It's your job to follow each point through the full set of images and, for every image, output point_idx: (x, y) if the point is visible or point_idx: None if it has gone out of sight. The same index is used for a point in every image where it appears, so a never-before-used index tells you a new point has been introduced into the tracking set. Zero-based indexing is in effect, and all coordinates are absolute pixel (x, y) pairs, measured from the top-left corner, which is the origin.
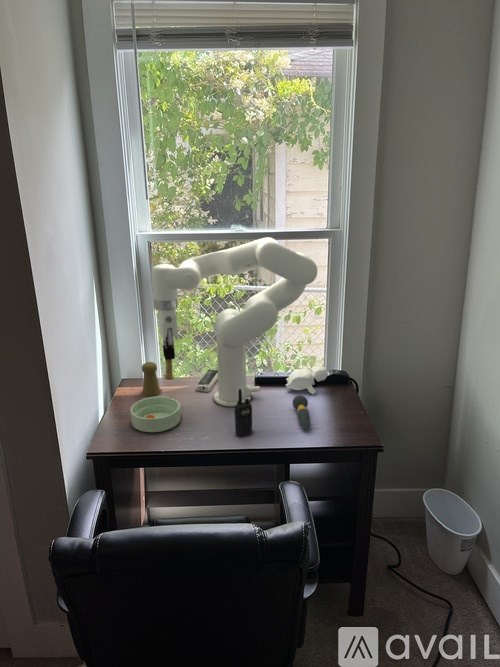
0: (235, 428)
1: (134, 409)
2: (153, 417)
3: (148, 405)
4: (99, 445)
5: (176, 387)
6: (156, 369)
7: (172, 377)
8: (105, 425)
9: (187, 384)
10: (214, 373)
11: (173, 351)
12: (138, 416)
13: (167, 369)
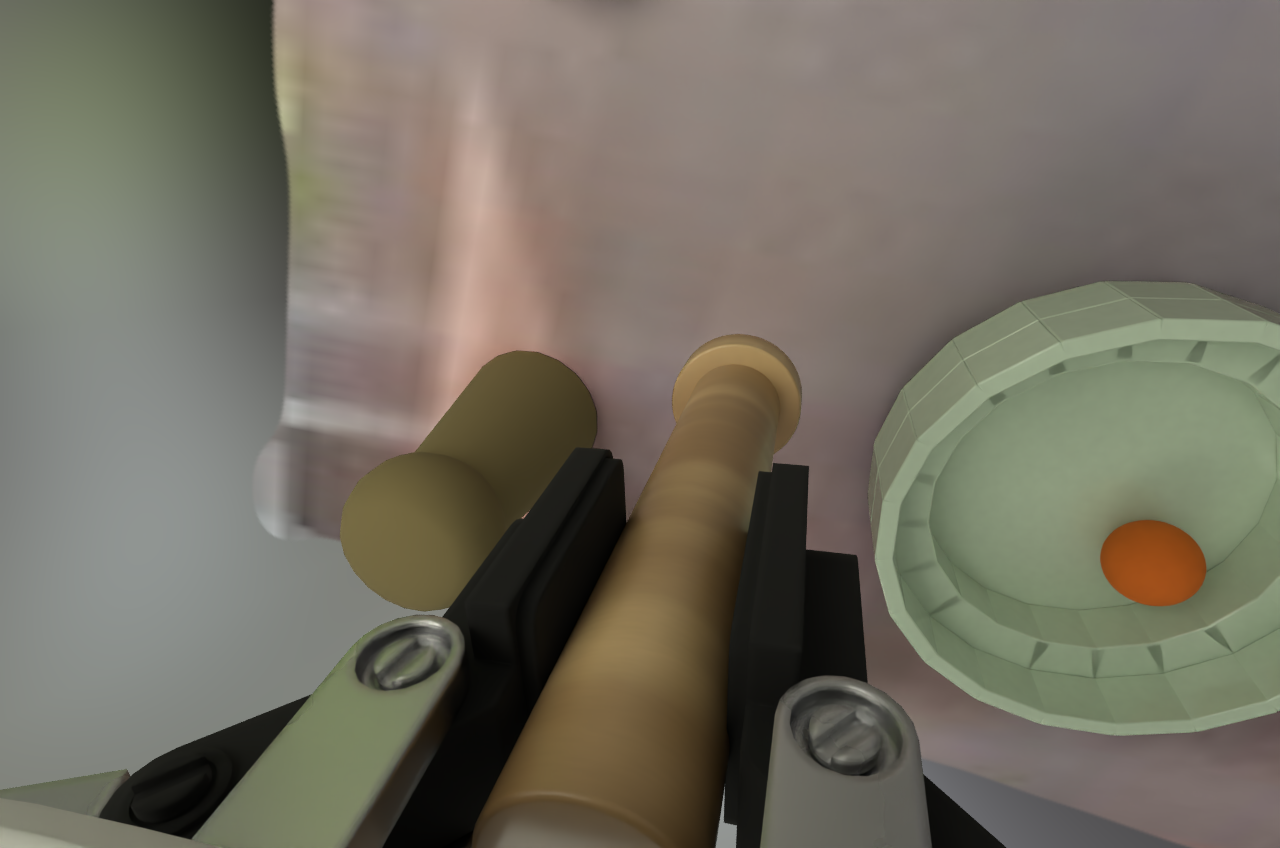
0: None
1: (975, 660)
2: (1193, 556)
3: (904, 537)
4: (1208, 831)
5: (482, 201)
6: (454, 468)
7: (789, 368)
8: (944, 753)
9: (435, 81)
10: None
11: (801, 586)
12: (1241, 712)
13: None
